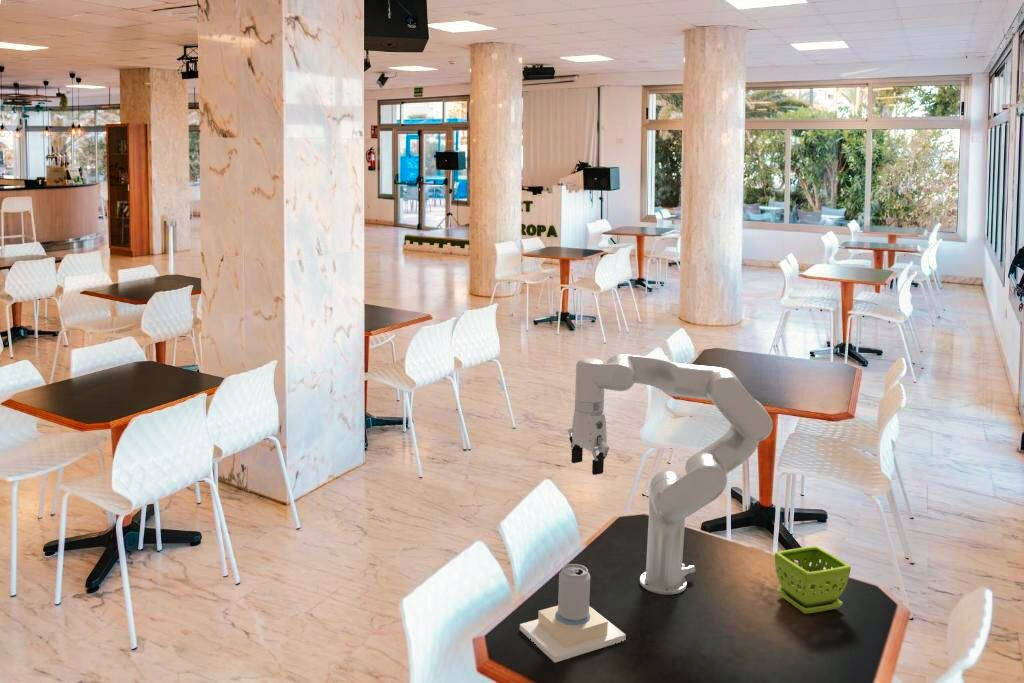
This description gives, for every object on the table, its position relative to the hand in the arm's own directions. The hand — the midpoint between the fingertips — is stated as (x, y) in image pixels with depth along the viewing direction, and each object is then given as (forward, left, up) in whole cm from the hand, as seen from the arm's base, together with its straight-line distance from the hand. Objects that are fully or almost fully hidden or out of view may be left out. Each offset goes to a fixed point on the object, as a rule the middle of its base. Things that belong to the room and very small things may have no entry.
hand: (587, 468), depth 232 cm
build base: (+18, +22, -32) cm, 43 cm away
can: (+18, +22, -27) cm, 39 cm away
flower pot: (-45, +38, -33) cm, 67 cm away
